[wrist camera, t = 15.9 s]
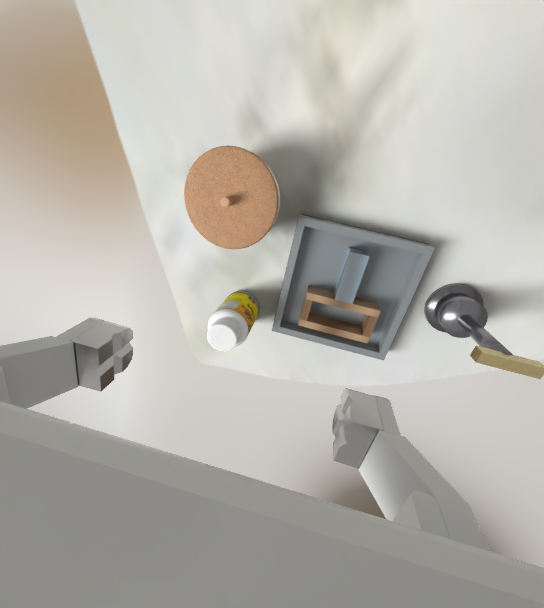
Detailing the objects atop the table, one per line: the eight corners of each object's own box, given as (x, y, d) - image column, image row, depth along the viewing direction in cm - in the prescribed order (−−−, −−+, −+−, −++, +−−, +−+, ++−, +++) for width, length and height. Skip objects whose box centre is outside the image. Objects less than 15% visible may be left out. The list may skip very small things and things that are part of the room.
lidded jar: (264, 135, 35) (244, 120, 26) (299, 217, 38) (292, 227, 29) (194, 177, 38) (157, 176, 30) (232, 249, 41) (208, 267, 33)
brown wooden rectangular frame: (394, 258, 37) (400, 263, 34) (364, 333, 42) (367, 343, 39) (320, 240, 38) (320, 244, 35) (299, 316, 43) (298, 325, 40)
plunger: (416, 322, 41) (456, 383, 28) (437, 278, 38) (493, 324, 25) (465, 335, 40) (527, 403, 28) (490, 290, 37) (573, 344, 25)
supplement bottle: (260, 322, 45) (244, 358, 36) (227, 321, 46) (203, 356, 37) (259, 289, 43) (241, 319, 34) (224, 289, 44) (197, 317, 35)
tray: (300, 214, 38) (298, 216, 35) (428, 243, 36) (434, 247, 34) (274, 323, 45) (271, 330, 42) (380, 351, 44) (383, 360, 41)
